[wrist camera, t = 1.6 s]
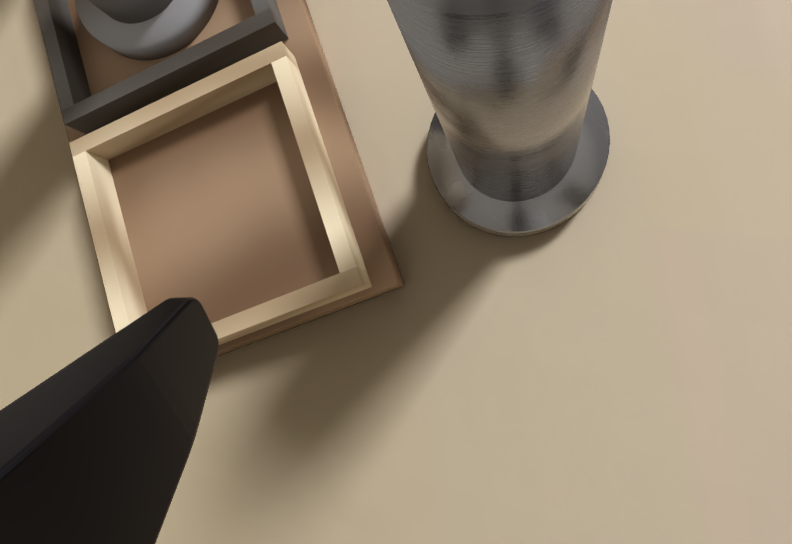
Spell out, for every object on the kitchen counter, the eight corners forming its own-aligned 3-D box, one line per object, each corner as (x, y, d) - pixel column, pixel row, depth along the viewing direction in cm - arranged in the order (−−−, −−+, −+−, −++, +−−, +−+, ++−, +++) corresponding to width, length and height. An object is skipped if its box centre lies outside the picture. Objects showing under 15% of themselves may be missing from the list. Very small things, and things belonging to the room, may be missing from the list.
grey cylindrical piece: (528, 271, 20) (521, 170, 8) (398, 169, 21) (220, -53, 9) (644, 134, 19) (832, -206, 7) (504, 39, 21) (465, -375, 9)
